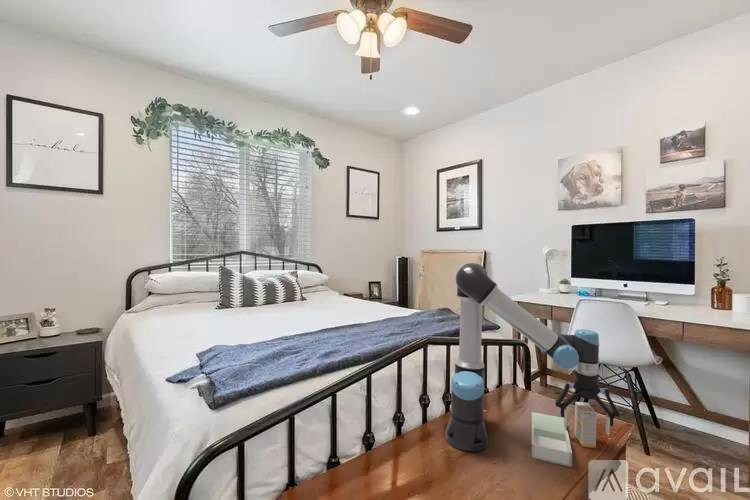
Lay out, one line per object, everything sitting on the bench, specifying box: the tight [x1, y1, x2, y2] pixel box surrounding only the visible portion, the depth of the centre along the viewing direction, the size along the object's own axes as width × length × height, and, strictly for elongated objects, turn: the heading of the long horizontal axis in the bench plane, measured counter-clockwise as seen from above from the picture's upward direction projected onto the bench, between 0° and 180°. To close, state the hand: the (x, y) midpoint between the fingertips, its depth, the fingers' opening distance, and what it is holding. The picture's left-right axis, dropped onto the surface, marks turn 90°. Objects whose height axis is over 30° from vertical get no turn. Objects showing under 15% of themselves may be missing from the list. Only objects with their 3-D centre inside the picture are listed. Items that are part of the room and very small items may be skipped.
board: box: [531, 411, 568, 441], centre depth 137 cm, size 12×14×3 cm
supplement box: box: [574, 401, 598, 449], centre depth 129 cm, size 8×5×13 cm, turn 168°
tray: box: [531, 423, 573, 468], centre depth 124 cm, size 12×16×4 cm
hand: (586, 429), depth 129 cm, fingers open, 13 cm apart
